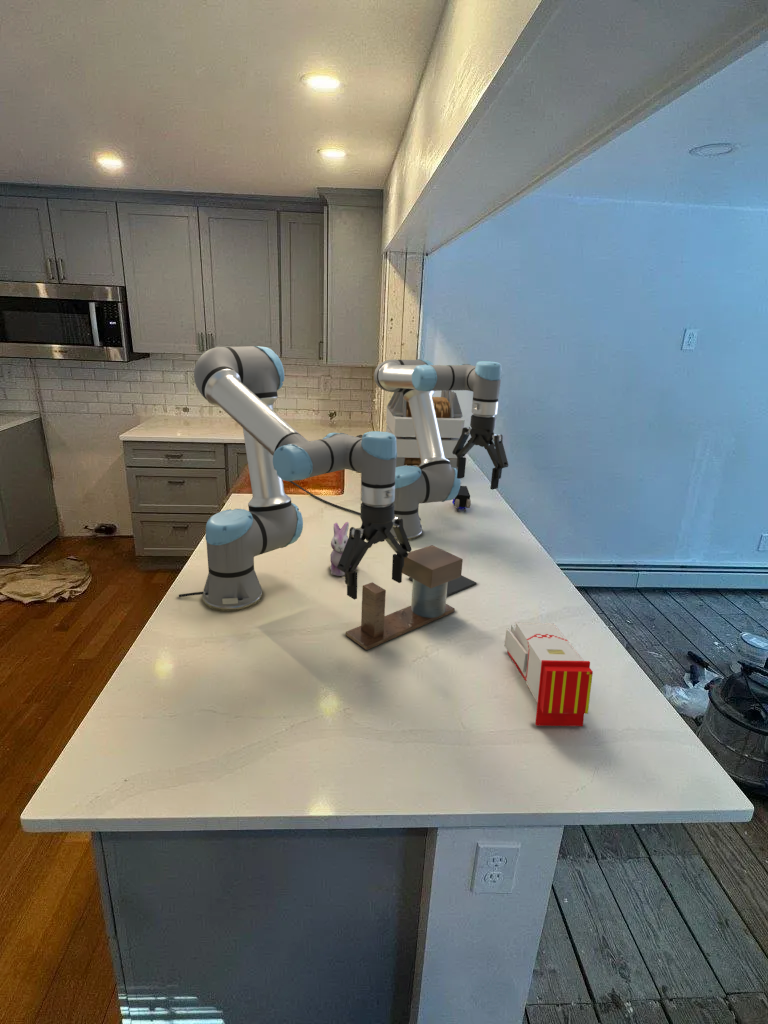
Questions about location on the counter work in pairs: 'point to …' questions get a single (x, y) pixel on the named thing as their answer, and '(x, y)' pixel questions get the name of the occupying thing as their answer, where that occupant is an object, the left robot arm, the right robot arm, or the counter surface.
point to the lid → (432, 566)
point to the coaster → (457, 584)
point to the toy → (551, 672)
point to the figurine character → (462, 499)
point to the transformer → (405, 434)
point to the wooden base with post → (397, 613)
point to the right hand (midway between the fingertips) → (476, 483)
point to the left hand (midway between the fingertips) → (375, 588)
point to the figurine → (338, 547)
